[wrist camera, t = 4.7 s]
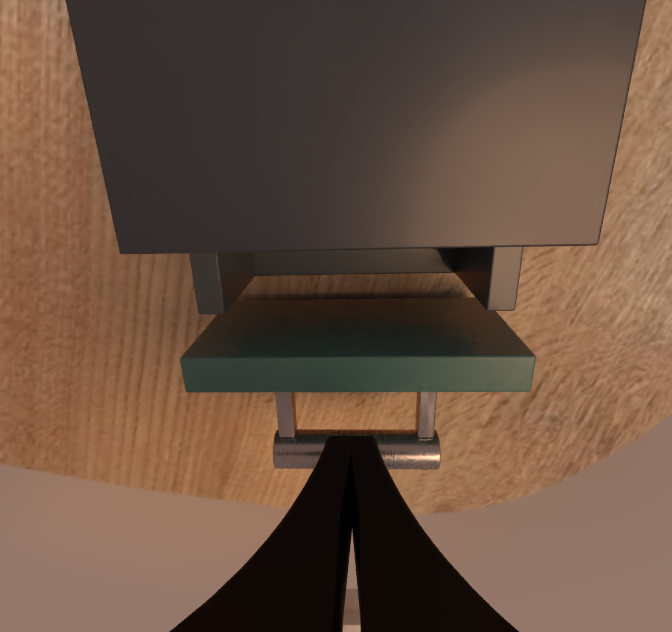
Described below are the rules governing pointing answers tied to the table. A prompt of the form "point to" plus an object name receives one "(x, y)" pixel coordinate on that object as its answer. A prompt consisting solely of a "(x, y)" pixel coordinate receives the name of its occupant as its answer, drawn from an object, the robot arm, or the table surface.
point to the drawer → (358, 340)
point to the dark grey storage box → (355, 120)
